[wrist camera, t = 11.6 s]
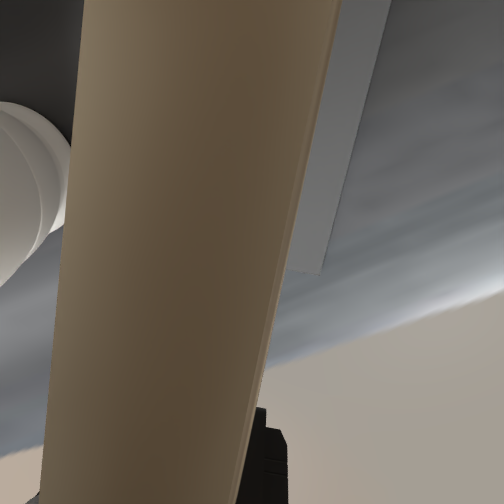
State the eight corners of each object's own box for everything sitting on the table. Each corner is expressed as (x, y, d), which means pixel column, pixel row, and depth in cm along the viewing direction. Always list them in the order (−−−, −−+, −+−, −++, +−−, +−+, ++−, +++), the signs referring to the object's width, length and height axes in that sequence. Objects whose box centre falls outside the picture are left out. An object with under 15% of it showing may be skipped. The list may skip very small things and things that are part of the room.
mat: (169, 244, 26) (167, 247, 26) (196, -47, 20) (194, -50, 20) (318, 272, 26) (319, 275, 26) (392, -12, 20) (395, -14, 19)
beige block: (84, 708, 11) (2, 890, 8) (193, -88, 7) (108, -266, 4) (183, 747, 11) (134, 952, 8) (357, -70, 7) (384, -252, 4)
